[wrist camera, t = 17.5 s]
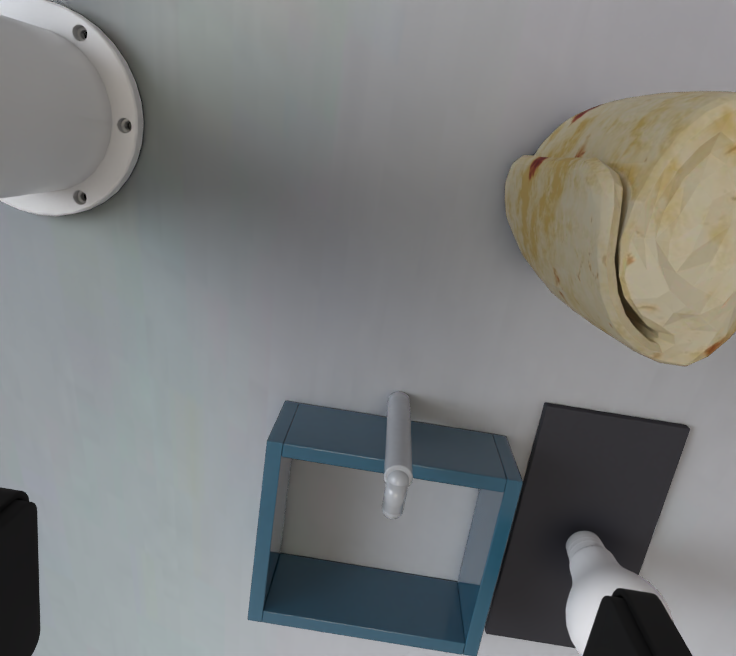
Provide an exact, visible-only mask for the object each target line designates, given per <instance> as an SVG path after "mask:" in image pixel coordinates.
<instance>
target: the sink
mask: <svg viewBox="0 0 736 656" xmlns="http://www.w3.org/2000/svg"><path fill="white" fill-rule="evenodd" d="M292 459H298V460H304V461H310V462H317V463H323V464H329V465H335V466H341V467H348V468H354V469H360V470H366V471H372V472H379V473H384V482H385V484H386V487H385V492H384V498H383V503H382V512H383V514H384V515H385V516H386V517H387V518H389V519H397V518H399V517H400V516H401V515H402V513H403V509H404V504H405V499H406V494H407V489H408V487H409V486H410V485H411V483H412V481H413V478H416V479H422V480H428V481H434V482H441V483H447V484H453V485H459V486H465V487H472V488H478V489H480V490H479V495H478V499H477V503H476V507H475V511H474V515H473V520H472V524H471V528H470V532H469V536H468V540H467V544H466V549H465V553H464V557H463V561H462V565H461V569H460V574H459V578H458V582H456V581H449V580H443V579H437V578H431V577H425V576H419V575H412V574H406V573H400V572H394V571H388V570H382V569H375V568H369V567H363V566H357V565H351V564H344V563H338V562H332V561H326V560H320V559H314V558H307V557H301V556H295V555H289V554H283V553H280V550H281V542H282V534H283V526H284V518H285V510H286V502H287V494H288V486H289V478H290V470H291V462H292ZM522 484H523V481H522V478H521V475H520V473H519V470H518V467H517V464H516V462H515V459H514V456H513V453H512V451H511V448H510V445H509V442H508V440H507V437H506V436H502V435H495V434H489V433H483V432H476V431H470V430H464V429H458V428H452V427H445V426H439V425H433V424H427V423H420V422H414V421H411V411H410V398H409V397H408V395H407V394H405V393H403V392H394V393H392V394H391V395H390V396H389V398H388V401H387V417H383V416H377V415H371V414H364V413H358V412H352V411H346V410H339V409H333V408H327V407H321V406H315V405H308V404H302V403H297V402H291V401H285V402H284V404H283V407H282V409H281V411H280V413H279V416H278V418H277V420H276V422H275V424H274V427H273V429H272V431H271V433H270V436H269V438H268V440H267V446H266V455H265V464H264V473H263V482H262V491H261V501H260V510H259V519H258V528H257V537H256V546H255V556H254V565H253V574H252V583H251V592H250V601H249V611H248V620H252V621H258V622H265V623H271V624H277V625H283V626H289V627H295V628H301V629H308V630H314V631H320V632H326V633H332V634H338V635H344V636H351V637H357V638H363V639H369V640H375V641H381V642H387V643H394V644H400V645H406V646H412V647H418V648H424V649H430V650H437V651H443V652H449V653H455V654H461V655H462V654H463V655H468V656H477V654H478V650H479V646H480V642H481V638H482V635H483V631H484V627H485V623H486V620H487V616H488V612H489V608H490V605H491V601H492V597H493V593H494V589H495V586H496V582H497V578H498V574H499V571H500V567H501V563H502V559H503V556H504V552H505V548H506V544H507V541H508V537H509V533H510V529H511V525H512V522H513V518H514V514H515V510H516V507H517V503H518V499H519V495H520V492H521V488H522Z"/></svg>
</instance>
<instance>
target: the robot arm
mask: <svg viewBox="0 0 736 656" xmlns="http://www.w3.org/2000/svg"><path fill="white" fill-rule="evenodd" d="M86 31H87V38H86V39H85V37H84V33H85V32H86ZM129 122H131V126H132V128H131V130H129V129H128V126H127V125H128V123H129ZM143 125H144V122H143V112H142V102H141V99H140V95H139V92H138V88H137V84H136V81H135V79H134V77H133V75H132V73H131V70H130V68H129V66H128V64H127V62H126V60H125V59H124V58H123V56H122V55H121V53H120V52H119V50H118V49H117V47H116V46H115V44H114V43H113V42H112V41H111V40H110V39H109V38H108V37H107V36H106V35H105V34H104V33H103V32H102V31H101V30H100V29H99V27H97V26H96V25H94V24H93V23H92V22H90V21H89V20H88V19H86V18H85V17H84V16H82V15H81V14H79V13H77V12H75V11H73V10H70V9H68V8H66V7H64V6H62V5H60V4H57V3H54V2H51V1H48V0H0V201H1V202H3V203H5V204H8V205H10V206H12V207H14V208H16V209H19V210H21V211H25V212H29V213H33V214H37V215H48V216H61V215H68V214H75V213H79V212H82V211H86V210H90V209H92V208H94V207H96V206H98V205H100V204H102V203H104V202H105V201H107V200H108V199H109V198H110V197H112V196H113V195H114V194H115V193H117V192H118V191H119V189H120V188H121V187H122V186H123V184H124V183H125V182H126V181H127V179H128V178H129V177H130V175H131V173H132V171H133V169H134V167H135V165H136V163H137V160H138V156H139V153H140V149H141V145H142V138H143ZM84 193H85V194H86V197H87V200H86V199H85V198H84ZM39 635H40V602H39V564H38V527H37V507H36V505H35V503H33V502H29V498H28V495H27V494H26V493H25V492H23V491H18V490H12V489H6V488H0V656H31V655H32V654H33V652H34V650H35V648H36V645H37V643H38V640H39ZM583 656H692V654H691V653H690V651H689V649H688V647H687V646H686V644H685V642H684V640H683V639H682V637H681V635H680V633H679V632H678V630H677V628H676V626H675V625H674V623H673V621H672V619H671V618H670V616H669V614H668V612H667V611H666V609H665V607H664V605H663V603H662V602H661V600H660V599H659V598H658V596H657V595H655V594H653V593H648V592H642V591H636V590H630V589H624V588H617V589H616V590H615V591H614V592H613V594H612V596H608V595H607V596H604V597H603V598H602V600H601V602H600V605H599V608H598V611H597V614H596V617H595V620H594V623H593V626H592V629H591V632H590V635H589V638H588V641H587V644H586V647H585V650H584V653H583Z"/></svg>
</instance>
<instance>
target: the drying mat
mask: <svg viewBox="0 0 736 656" xmlns="http://www.w3.org/2000/svg"><path fill="white" fill-rule="evenodd" d="M689 431H690V428H689V427H688V426H686V425H681V424H675V423H668V422H662V421H656V420H650V419H643V418H637V417H631V416H625V415H618V414H612V413H606V412H600V411H593V410H587V409H581V408H575V407H569V406H562V405H556V404H550V403H545V404H544V408H543V411H542V415H541V419H540V423H539V426H538V430H537V434H536V438H535V441H534V445H533V449H532V453H531V457H530V460H529V464H528V468H527V472H526V475H525V479H524V483H523V487H522V490H521V494H520V498H519V502H518V505H517V509H516V513H515V517H514V520H513V524H512V528H511V532H510V536H509V539H508V543H507V547H506V551H505V554H504V558H503V562H502V566H501V569H500V573H499V577H498V581H497V584H496V588H495V592H494V596H493V599H492V603H491V607H490V611H489V614H488V618H487V622H486V626H485V631H486V634H492V635H498V636H505V637H511V638H517V639H523V640H529V641H535V642H541V643H548V644H554V645H560V646H566V647H572V648H576V647H575V646H574V644H573V642H572V641H571V638H570V635H569V633H568V629H567V626H566V604H567V600H568V596H569V593H570V590H571V588H572V583H573V582H572V576H571V572H570V567H569V564H570V561H569V557H568V554H567V550H566V542H567V540H568V538H569V537H570V536H571V535H572V534H574V533H576V532H578V531H590V532H592V533H594V534H596V535H597V536H598V537H599V539H600V540H601V542H602V543H603V545H604V547H605V548H606V549H607V550H608V551H610V552H611V553H612V555H613V556H614V558H615V559H616V561H617V562H618V563H619V564H620V566H622V567H623V568H625V569H627V570H629V571H631V572H634V573H635V574H637V575H639V572H640V569H641V566H642V564H643V561H644V558H645V555H646V552H647V550H648V547H649V544H650V541H651V538H652V535H653V533H654V530H655V527H656V524H657V521H658V518H659V516H660V513H661V510H662V507H663V504H664V502H665V499H666V496H667V493H668V490H669V487H670V485H671V482H672V479H673V476H674V473H675V471H676V468H677V465H678V462H679V459H680V456H681V454H682V451H683V448H684V445H685V442H686V439H687V437H688V434H689Z"/></svg>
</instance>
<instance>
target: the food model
mask: <svg viewBox="0 0 736 656" xmlns="http://www.w3.org/2000/svg"><path fill="white" fill-rule="evenodd" d="M505 207H506V217H507V220H508V222H509V225H510V228H511V230H512V233H513V235H514V237H515V239H516V241H517V244H518V246H519V248H520V251H521V253H522V255H523V256H524V257H525V259H526V260H527V262H528V263H529V264H530V266H531V267H532V268H533V270H534V271H535V272H536V274H537V275H538V276H539V278H540V279H541V280H542V281H543V282H544V283H545V284H546V286H547V287H548V288H549V290H550V291H551V293H553V294H554V295H555V296H556V297H557V298H559V299H560V300H561V301H562V302H564V303H565V304H566V305H567V306H568V307H570V308H571V309H572V310H573V311H575V312H576V313H578V314H579V315H581V316H582V317H583V318H585V319H586V320H588V321H589V322H590V323H592V324H593V325H594V326H596V327H597V328H599V329H601V330H602V331H604V332H605V333H607V334H609V335H610V336H612V337H613V338H615V339H616V340H618V341H619V342H621V343H622V344H624V345H626V346H627V347H629V348H630V349H632V350H633V351H635V352H637V353H639V354H641V355H644V356H646V357H648V358H650V359H652V360H654V361H657V362H659V363H665V364H672V365H679V366H688V365H690V364H692V363H694V362H697V361H699V360H701V359H703V358H705V357H708V356H709V355H710V354H711V353H713V352H714V351H715V350H716V349H717V348H719V347H720V346H721V345H722V344H723V343H724V342H726V341H727V340H728V339H729V338H730V337H731V336H732V335H733V333H734V332H735V331H736V92H722V91H697V92H672V93H660V94H652V95H645V96H638V97H632V98H626V99H621V100H617V101H612V102H609V103H605V104H602V105H599V106H596V107H593V108H591V109H588V110H586V111H583V112H581V113H579V114H577V115H575V116H573V117H571V118H569V119H568V120H567V121H565V122H564V123H563V124H561V125H560V126H559V127H558V128H557V129H556V130H555V131H554V132H553V133H552V134H551V135H550V136H549V137H548V138H547V139H546V140H545V141H544V142H543V143H542V144H541V146H540V147H539V149H538V150H537V152H536V153H535V155H534V156H531V155H523V156H521V157H520V158H519V159H518V160H516V161H515V162H514V163H513V164H512V166H511V168H510V171H509V174H508V177H507V179H506V182H505Z"/></svg>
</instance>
